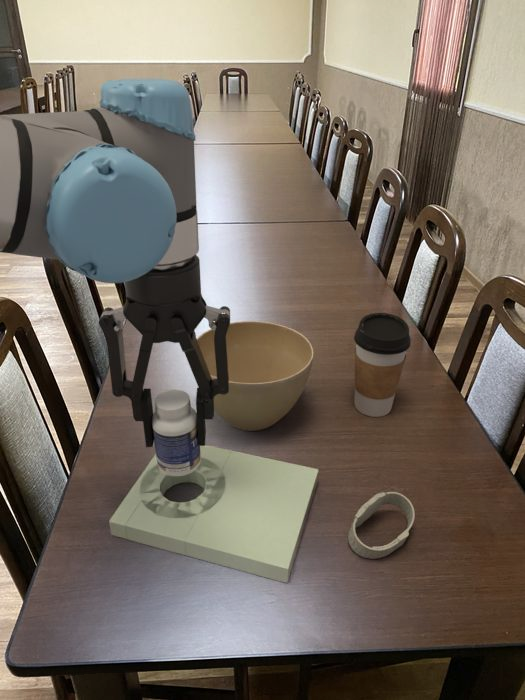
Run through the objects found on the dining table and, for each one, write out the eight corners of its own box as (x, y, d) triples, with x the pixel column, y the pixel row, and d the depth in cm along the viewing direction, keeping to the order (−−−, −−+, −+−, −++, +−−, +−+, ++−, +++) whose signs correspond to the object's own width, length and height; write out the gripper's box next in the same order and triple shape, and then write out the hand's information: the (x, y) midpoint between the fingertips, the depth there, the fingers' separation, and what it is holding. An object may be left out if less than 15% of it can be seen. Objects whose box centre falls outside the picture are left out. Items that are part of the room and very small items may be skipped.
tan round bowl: (312, 454, 77) (317, 385, 71) (187, 451, 78) (181, 382, 71) (306, 382, 93) (310, 320, 86) (202, 381, 93) (198, 319, 87)
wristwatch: (383, 502, 70) (388, 473, 67) (424, 532, 66) (431, 503, 63) (335, 539, 65) (338, 510, 62) (376, 574, 60) (382, 544, 58)
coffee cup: (398, 393, 90) (411, 314, 82) (400, 425, 83) (415, 341, 75) (347, 388, 91) (356, 309, 84) (345, 418, 84) (354, 336, 77)
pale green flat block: (111, 535, 65) (108, 521, 64) (168, 449, 78) (167, 436, 77) (287, 583, 59) (288, 569, 58) (317, 482, 73) (318, 469, 71)
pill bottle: (203, 474, 65) (198, 410, 60) (158, 481, 64) (149, 416, 59) (199, 445, 69) (193, 383, 64) (156, 450, 68) (148, 388, 63)
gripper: (253, 242, 56) (252, 417, 68) (74, 243, 55) (105, 420, 67) (256, 270, 50) (254, 458, 62) (54, 271, 49) (91, 462, 61)
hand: (176, 438), depth 64 cm, fingers closed on pill bottle, 5 cm apart
